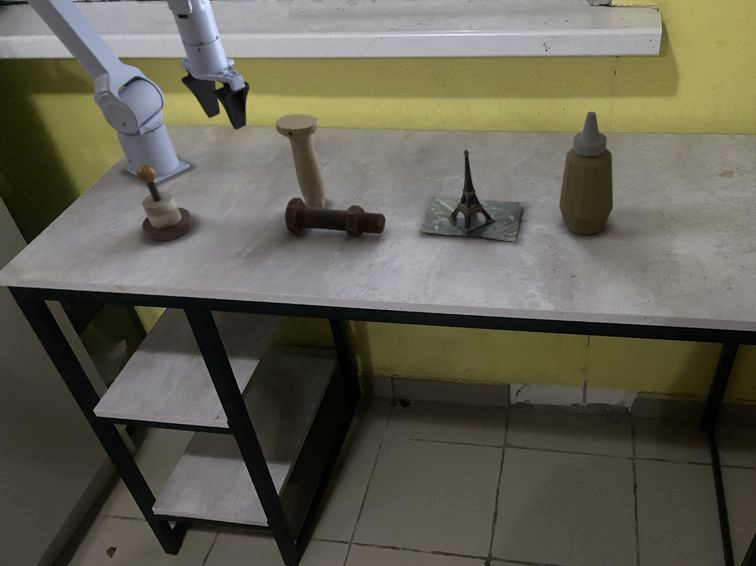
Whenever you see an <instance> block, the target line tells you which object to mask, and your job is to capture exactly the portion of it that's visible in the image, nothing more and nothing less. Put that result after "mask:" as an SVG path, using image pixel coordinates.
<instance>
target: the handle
mask: <svg viewBox="0 0 756 566" xmlns="http://www.w3.org/2000/svg"><path fill="white" fill-rule="evenodd" d="M274 125H275V129H276V132H277V133H278V134H280V135H281V136H282V137H283V136H284V137H285V138H288V140H289V143H290V146H291V147H290V148H291V152H292V153H291V154H292V158H293V163H294V168H295V173H296V174H295V175H296V179H297V182H298V186H299V189H300V192H301V195H302V198H303V199H304V203H305V205H306V206H307V207H312V208H321V209H322V208H323V209H325V208H324V207H325V206H326V205H327V197H326V187H325V181H324V177H323V173H322V169H321V166H320V163H319V160H318V157H317V153H316V149H315V145H314V142H313V138H312V135H313V134H315V133H316V132H317V131H318V129H319V121H318V118H317V117H315V116H313V115H310V114H305V113H303V114H302V113H293V114H287V115H283V116H280V117H279V118H278V119H277V120H276V121H275V124H274Z"/></svg>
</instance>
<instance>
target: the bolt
mask: <svg viewBox="0 0 756 566" xmlns="http://www.w3.org/2000/svg"><path fill="white" fill-rule="evenodd" d="M364 209H365V208H363V207H362V206H360V205H356V204H352V205H350V206H349V207H348V208H347V209H346V210H345V209H334V208H322V209H321V208H312V207H307V206H306V203H305V201H304V200H303V199H302V198H301V197H293V198H291V199H290V200H289V201H288V202H287V205H286V208H285V213H284V221H285V222H284V223H285V227H286V229H287V231H288V232H289V233H290V234H292V235H294V236H295V235H296V236H301V235H302V233H303V232H304V230H305V229H309V230H310V229H318V230H329V231H338V232H346V234H347V235H348V236H349V237H350V238H353V239H359V238H360V237H362V236H363V235H364V234H373V235H374V234H375V235H381V234H382V233H384V231H385V227H386V221H387V220H386V217H385V215H384V213H381V212H371V211H370V212H368V211H365V210H364Z"/></svg>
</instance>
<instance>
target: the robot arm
mask: <svg viewBox="0 0 756 566" xmlns="http://www.w3.org/2000/svg"><path fill="white" fill-rule="evenodd" d="M26 2H27V3H28V4H29V6H31V8H32V9H33V10H34V12H35V13H36V14H37V15H38V16H39V17H40V18H41V20H42V21H43V22H44V23H45V24H46V26H47V27H48V28H49V29H50V31H52V33H53V34H54V36H56V38H57V39H58V40H59V41H60V42H61V43H62V45H63V46H64V47H65V48H66V49H67V51H68V52H69V53H70V55H72V57H73V58H74V59H75V60H76V61H77V62H78V64H79V65H80V66H81V67H82V69H83V70H84V71H85V72H86V73H87V75H88V76H89V77H90V78H91V80H92V81H93V82H94V90H93V101H94V102H95V104H96V105H97V106H98V107H99V108H100V110H101V113H102V115H103V118H104V120H105V121H106V123H107V124H108V125H109V126H110V127H111V128H113V129H114V131H116V136H117V137H116V138H117V139H118V142H119V144H120V147H121V149H122V151H123V154H124V156H125V158H126V160H127V162H128V165H129V166H127V167H125V171H126V172H127V173H130V174H132V175H134V176H135V177H137V169H138V167H139V166H141V165H143V164H148V165H151V166H152V167H153V168H154V169H155V170H156V179H155V180H154V182H155V184H158V183H160V182H162V181H164V180H166V179H168V178H170V177H173V176H174V175H177V174H179V173H181V172H183V171H184V170H187V169H189V168H190V164H189V163H187V162H185V161H183V160H181V159H179V158H178V156H177V153H176V151H175V148H174V145H173V143H172V140H171V137H170V134H169V132H168V130H167V127H166V124H165V122H164V119H163V117H164V116H165V115H164V112H163V108H164V107H165V101H166V100H165V96H164V93H163V91H162V89H161V88H160V87H159V86H158V85H157V83H155V82H154V81H153V80H151V79H150V78H148V77H147V76H146V75H145V74H144V73H143V72H142V71H141V70H140V68H139V67H136V66H133V65H129V64H126V63H123V62H122V61H121V60H120V59H119V57H118V56H117V55H116V54H115V52H113V50H112V49H111V47H110V46H109V45H108V44H107V42H106V41H105V40H104V39H103V37H102V36H101V35H100V34H99V32H98V31H97V30H96V29H95V27H94V26H93V25H92V24H91V23H90V22H89V20H88V19H87V18H86V17H85V15H84V14H83V12H82V11H81V10H80V9H79V7H77V5H76V4H75V3H74V1H72V0H26ZM165 2H166V4H167V7H168V9H169V11H171V13H172V15H173V19H174V21H175V24H176V27H177V31H178V33H179V36H180V39H181V42H182V46H183V49H184V51H185V55H186V57H183V58H181V59H180V60H179V62H180V64H181V67H182V70H183V72H185V73H187V75H185V76H183V77H182V78H181V82H182V84H183V85H184V86H185V87H186V88H188V90H189V91H190V92H191V94H192V95H193V96H194V97H195V99H196V101H197V102H198V103H199V105H200V107H201V108H202V111H203V112H204V113H205V115H206V116H207V118H209V119H211V118H214V117H216V116H218V115H220V114H221V108H220V104H221V106H222V107H223V109H224V111H225V112H226V116H227V118H228V120H229V123H230V124H231V126H232V128H233V129H234V130H240V129H241V128H244V127H245V126H247V99H248V95H249V91H250V84H249V82H248V81H245V80H244V79H243V75H242V74H241V73H238V72H237V71H236V69H235V68H234V67H233V65H235V61H234V59H233V58H229V57H227V56H226V53H225V49H224V46H223V43H222V40H221V35H220V32H219V28H218V26H217V22H216V18H215V15H214V12H213V8H212V5H211V2H210V0H165ZM216 82H218V83H221V84H222V87H218V88H217V87H216ZM121 87H123V88H122V89H121V90H119V89H120V88H121Z"/></svg>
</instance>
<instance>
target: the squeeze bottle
mask: <svg viewBox="0 0 756 566" xmlns="http://www.w3.org/2000/svg"><path fill="white" fill-rule="evenodd" d="M607 139H608V138H607V136H606V135H605V134H604V133H601V132H600V130H599V125H598V118H597V113H596V112H595V111H588V112H587V113H586V117H585V120H584V124H583V128H582V131H581V132H579V133H576V134H575V135H574V136H573V139H572V140H573V143H572V144H573V145H572V147H571V148H570V149H569V150H568V151H567V152H566V153H565V154H566V156H565V161H564V169H563V176H562V183H561V189H560V196H559V205H558V207H559V210H560V213H561V216H562V218H563V222H564V224H565V226H566V228H567V230H569V231H570V232H572V233H574V234H578V235H588V236H589V235H594V234H596V233H598V232H601V231H602V229H603V228H604V227H605V225H606V223H607V221H608V219H609V217H610V215H611V214H612V210H613V208H614V199H613V197H614V196H613V193H614V191H613V155H612V154H613V153H612V152H611V151H610V150H609V148H607V143H608V142H607Z"/></svg>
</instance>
